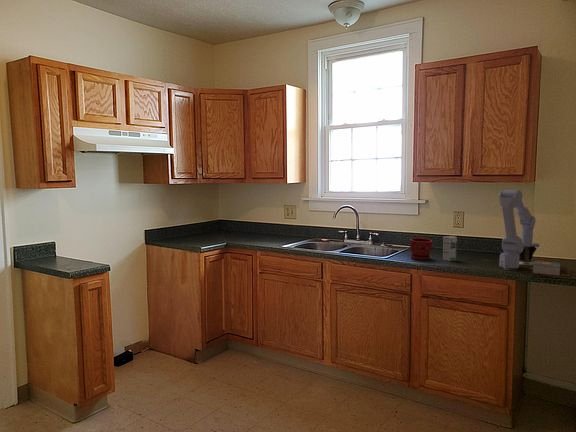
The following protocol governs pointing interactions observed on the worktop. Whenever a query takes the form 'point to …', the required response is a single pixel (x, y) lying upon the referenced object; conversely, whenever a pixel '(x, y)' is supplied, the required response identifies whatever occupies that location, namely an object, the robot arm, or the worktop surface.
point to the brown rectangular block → (526, 256)
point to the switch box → (546, 268)
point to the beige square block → (526, 263)
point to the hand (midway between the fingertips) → (525, 259)
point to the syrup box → (449, 248)
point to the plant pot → (420, 248)
